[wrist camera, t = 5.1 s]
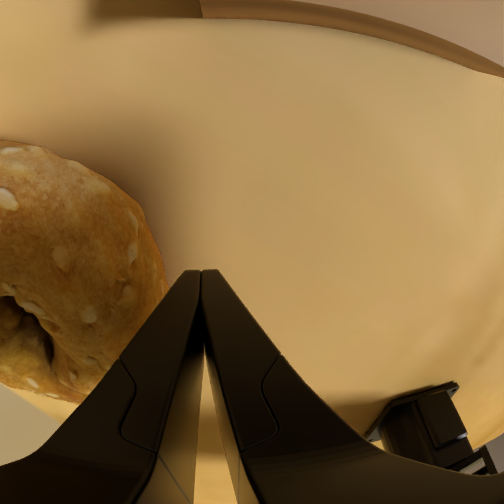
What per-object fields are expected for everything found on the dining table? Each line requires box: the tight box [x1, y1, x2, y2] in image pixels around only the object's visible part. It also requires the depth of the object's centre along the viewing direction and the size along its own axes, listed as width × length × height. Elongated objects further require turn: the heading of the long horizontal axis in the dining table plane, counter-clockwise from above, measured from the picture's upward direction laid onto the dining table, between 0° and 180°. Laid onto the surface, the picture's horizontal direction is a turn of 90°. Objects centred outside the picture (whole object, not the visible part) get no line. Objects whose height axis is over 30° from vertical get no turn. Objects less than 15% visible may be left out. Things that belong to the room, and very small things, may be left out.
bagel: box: [0, 141, 169, 405], centre depth 8 cm, size 10×11×5 cm
